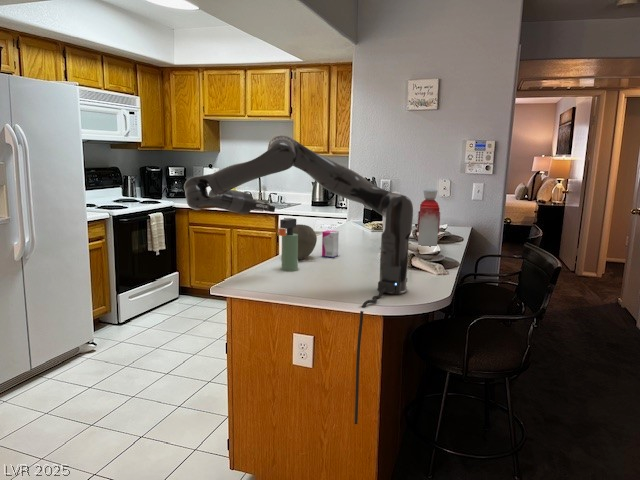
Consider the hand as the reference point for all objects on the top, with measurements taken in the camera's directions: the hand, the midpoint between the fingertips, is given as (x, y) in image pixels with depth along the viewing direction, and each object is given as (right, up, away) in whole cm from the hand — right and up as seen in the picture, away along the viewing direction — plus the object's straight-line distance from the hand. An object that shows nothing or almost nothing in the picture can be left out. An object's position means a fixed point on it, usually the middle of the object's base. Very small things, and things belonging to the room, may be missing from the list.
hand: (273, 209), depth 183 cm
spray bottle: (+5, -23, +12) cm, 27 cm away
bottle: (+69, -17, +51) cm, 87 cm away
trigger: (+3, -10, +6) cm, 12 cm away
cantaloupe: (+9, -20, +32) cm, 38 cm away
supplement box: (+22, -19, +37) cm, 47 cm away
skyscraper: (+52, -16, +56) cm, 78 cm away
